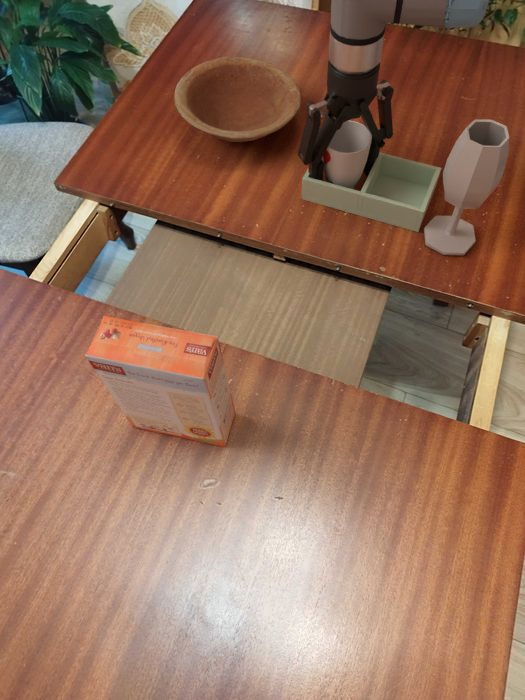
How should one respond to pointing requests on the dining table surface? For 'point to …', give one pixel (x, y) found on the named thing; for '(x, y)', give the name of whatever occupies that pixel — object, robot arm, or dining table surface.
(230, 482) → the dining table surface
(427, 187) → the divided tray
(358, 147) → the cup
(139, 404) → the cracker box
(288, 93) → the bowl
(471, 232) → the wineglass
